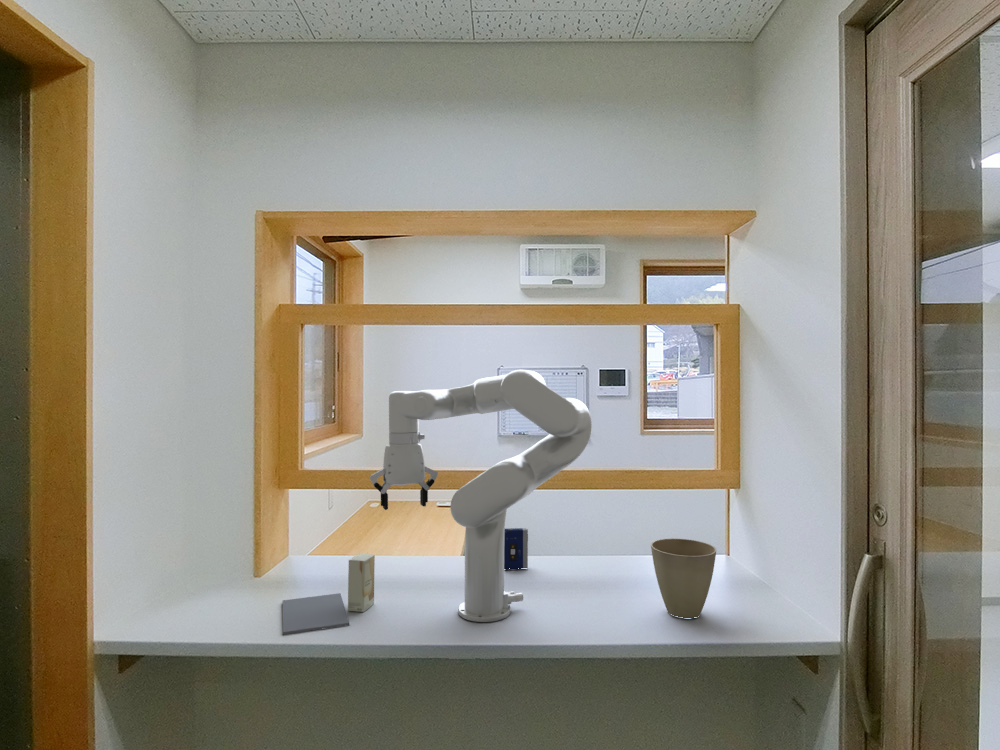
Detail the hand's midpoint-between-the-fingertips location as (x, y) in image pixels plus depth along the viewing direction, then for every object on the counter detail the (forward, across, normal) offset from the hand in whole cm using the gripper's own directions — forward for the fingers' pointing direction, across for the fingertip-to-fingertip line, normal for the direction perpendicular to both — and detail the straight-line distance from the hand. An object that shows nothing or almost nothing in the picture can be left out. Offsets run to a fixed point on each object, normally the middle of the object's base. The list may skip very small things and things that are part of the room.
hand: (404, 507), depth 143 cm
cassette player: (+24, -36, -14) cm, 46 cm away
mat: (+23, +22, 0) cm, 32 cm away
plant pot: (+25, -60, +32) cm, 73 cm away
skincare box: (+24, +11, 0) cm, 26 cm away
